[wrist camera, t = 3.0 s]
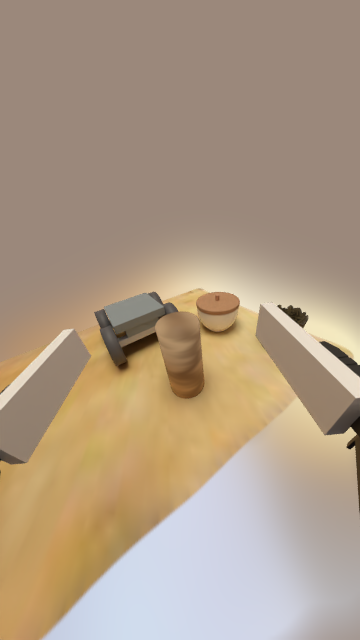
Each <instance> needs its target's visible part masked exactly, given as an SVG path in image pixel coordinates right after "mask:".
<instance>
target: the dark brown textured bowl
mask: <svg viewBox="0 0 360 640" xmlns="http://www.w3.org/2000/svg"><path fill="white" fill-rule="evenodd" d="M277 307H278V308H279V309H281V310H282V311H283V312H284V313H285V314H286V315H288V316H289V317H290V318H291V319H292V320H293V321H295V322H296V323H297V324H298V325H299V326H300V327H302V328H303V327H304V326H305V324H306V322H307V320H308V315H307V316H305V315H306V313H305V312H303V313H302V311H301V309H300V308H293V306H291V305H290V306H289V307H288V309H285V308H281V305H278V306H277Z"/></svg>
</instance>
